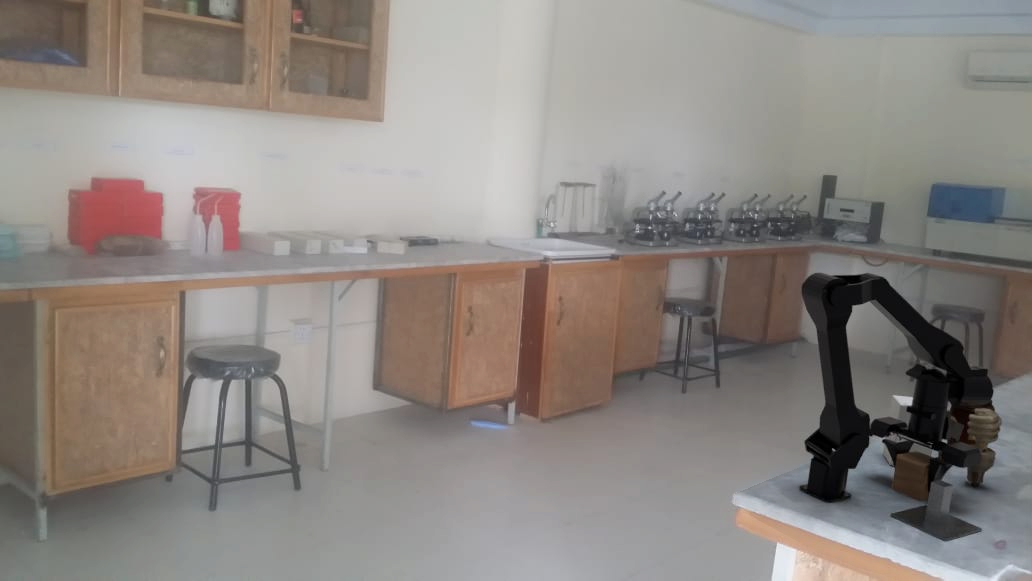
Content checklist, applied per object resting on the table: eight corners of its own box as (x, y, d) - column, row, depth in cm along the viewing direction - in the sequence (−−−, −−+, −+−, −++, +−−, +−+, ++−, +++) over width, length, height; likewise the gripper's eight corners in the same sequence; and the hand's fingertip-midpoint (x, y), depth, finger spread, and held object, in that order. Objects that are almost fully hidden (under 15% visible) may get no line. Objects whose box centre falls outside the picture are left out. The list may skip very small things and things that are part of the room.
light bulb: (988, 493, 163) (1002, 415, 161) (955, 485, 166) (969, 408, 164) (990, 485, 168) (1005, 408, 166) (958, 477, 171) (972, 402, 168)
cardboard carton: (919, 501, 157) (925, 465, 156) (891, 489, 162) (897, 454, 161) (938, 496, 160) (944, 461, 159) (910, 484, 165) (916, 450, 164)
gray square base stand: (945, 541, 141) (952, 499, 140) (890, 515, 149) (896, 476, 148) (981, 530, 146) (989, 490, 145) (926, 506, 155) (933, 468, 153)
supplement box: (929, 471, 173) (940, 409, 170) (889, 466, 174) (899, 404, 172) (920, 459, 180) (930, 398, 178) (881, 453, 181) (891, 393, 179)
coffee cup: (939, 457, 181) (950, 396, 179) (937, 446, 189) (947, 387, 187) (987, 466, 178) (999, 404, 176) (983, 454, 186) (994, 394, 184)
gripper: (1006, 415, 154) (991, 499, 157) (911, 384, 170) (898, 462, 173) (969, 421, 149) (953, 509, 151) (873, 389, 164) (861, 470, 167)
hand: (915, 486), depth 161 cm, fingers closed on cardboard carton, 6 cm apart
